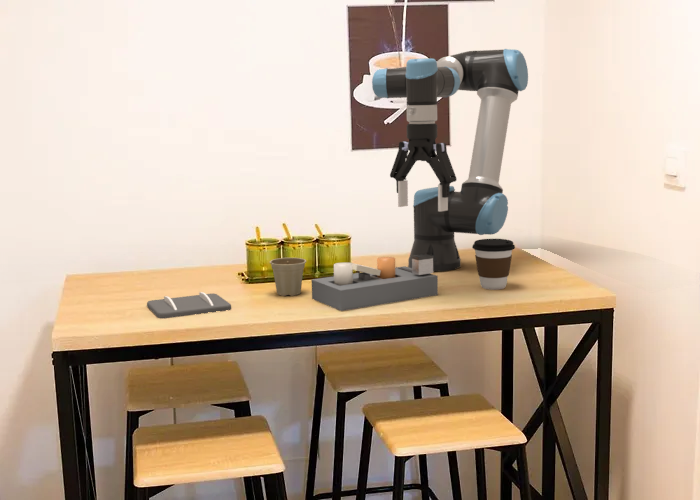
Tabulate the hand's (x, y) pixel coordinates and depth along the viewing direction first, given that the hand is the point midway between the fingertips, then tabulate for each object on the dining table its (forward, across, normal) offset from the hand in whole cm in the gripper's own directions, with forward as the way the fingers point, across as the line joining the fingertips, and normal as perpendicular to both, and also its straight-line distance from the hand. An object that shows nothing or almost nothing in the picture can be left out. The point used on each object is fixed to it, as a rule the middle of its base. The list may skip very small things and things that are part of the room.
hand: (422, 208), depth 229 cm
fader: (+16, 0, 0) cm, 17 cm away
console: (+22, -7, -10) cm, 25 cm away
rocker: (+14, -8, -13) cm, 21 cm away
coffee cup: (+22, +8, +19) cm, 30 cm away
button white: (+19, -9, -19) cm, 28 cm away
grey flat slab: (+23, -34, -48) cm, 63 cm away
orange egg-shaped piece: (+18, -7, -6) cm, 21 cm away
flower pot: (+22, -27, -22) cm, 41 cm away
